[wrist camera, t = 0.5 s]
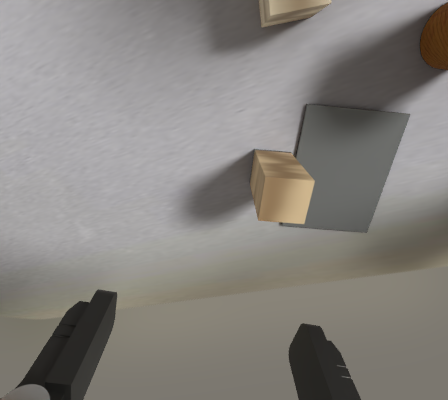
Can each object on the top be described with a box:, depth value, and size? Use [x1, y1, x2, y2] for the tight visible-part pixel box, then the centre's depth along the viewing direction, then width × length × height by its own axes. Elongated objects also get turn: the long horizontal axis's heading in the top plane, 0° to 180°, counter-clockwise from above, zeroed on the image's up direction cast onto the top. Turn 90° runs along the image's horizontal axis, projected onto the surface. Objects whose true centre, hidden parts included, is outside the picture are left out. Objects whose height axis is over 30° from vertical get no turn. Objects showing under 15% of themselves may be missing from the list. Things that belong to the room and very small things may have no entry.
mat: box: [282, 104, 410, 233], centre depth 34 cm, size 12×16×1 cm
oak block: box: [250, 149, 315, 224], centre depth 29 cm, size 4×4×10 cm
